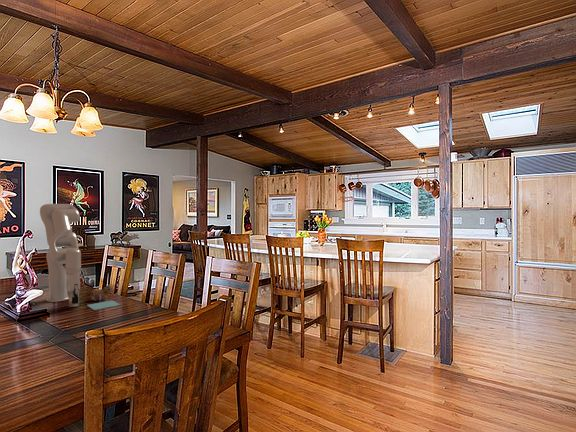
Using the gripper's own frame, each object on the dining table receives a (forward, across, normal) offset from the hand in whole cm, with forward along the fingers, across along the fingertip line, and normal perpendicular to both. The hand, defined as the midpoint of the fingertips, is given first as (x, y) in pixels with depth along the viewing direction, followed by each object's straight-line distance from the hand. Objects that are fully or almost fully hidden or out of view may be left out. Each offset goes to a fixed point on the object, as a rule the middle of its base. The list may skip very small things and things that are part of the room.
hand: (73, 302), depth 199 cm
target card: (+3, +9, +13) cm, 16 cm away
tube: (+2, 0, 0) cm, 2 cm away
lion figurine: (+3, -7, +17) cm, 18 cm away
